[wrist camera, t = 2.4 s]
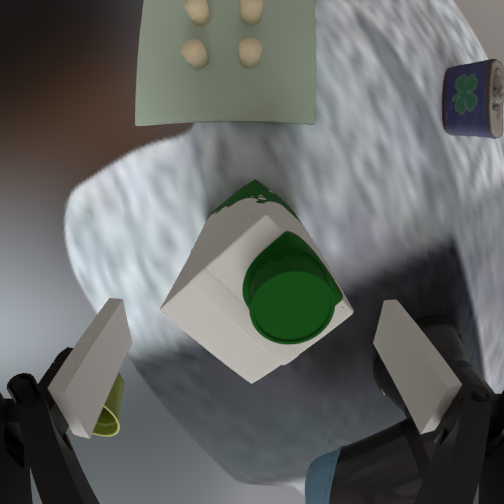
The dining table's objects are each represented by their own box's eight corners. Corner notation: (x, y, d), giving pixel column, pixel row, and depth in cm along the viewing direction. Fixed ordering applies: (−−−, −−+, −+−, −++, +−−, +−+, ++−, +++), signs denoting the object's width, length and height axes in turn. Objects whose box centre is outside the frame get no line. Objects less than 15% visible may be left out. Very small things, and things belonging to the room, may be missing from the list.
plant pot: (84, 344, 38) (59, 381, 30) (141, 371, 40) (124, 414, 32) (78, 380, 41) (58, 416, 33) (128, 405, 43) (114, 444, 35)
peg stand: (310, -18, 23) (320, -41, 18) (311, 124, 29) (324, 121, 24) (150, -15, 23) (136, -36, 17) (139, 126, 29) (120, 123, 24)
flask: (455, 137, 29) (514, 143, 19) (438, 130, 29) (497, 133, 19) (460, 71, 26) (516, 61, 16) (443, 63, 26) (498, 48, 16)
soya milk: (309, 227, 33) (380, 333, 14) (248, 278, 35) (250, 418, 16) (255, 166, 31) (269, 204, 12) (193, 224, 33) (130, 330, 14)
